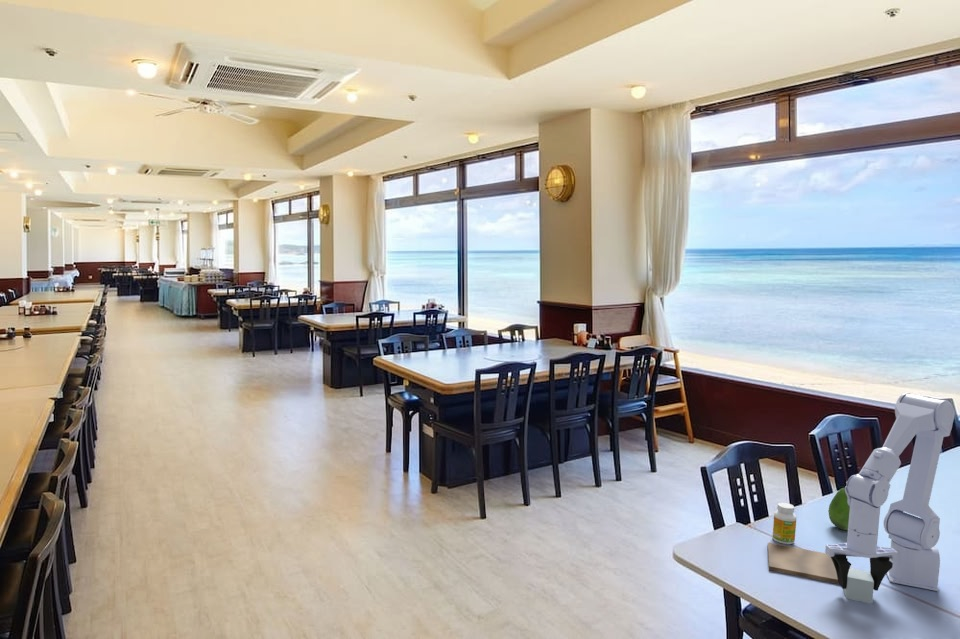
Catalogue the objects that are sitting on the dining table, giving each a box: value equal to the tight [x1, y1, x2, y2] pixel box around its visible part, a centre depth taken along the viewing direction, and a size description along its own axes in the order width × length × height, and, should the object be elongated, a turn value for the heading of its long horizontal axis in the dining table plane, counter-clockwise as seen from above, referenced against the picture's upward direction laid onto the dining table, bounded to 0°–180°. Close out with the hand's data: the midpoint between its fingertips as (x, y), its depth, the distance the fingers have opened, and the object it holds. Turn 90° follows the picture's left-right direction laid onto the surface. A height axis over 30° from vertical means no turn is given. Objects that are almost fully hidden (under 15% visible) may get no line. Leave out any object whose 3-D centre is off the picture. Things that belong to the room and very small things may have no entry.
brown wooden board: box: [767, 542, 839, 585], centre depth 155 cm, size 16×14×1 cm
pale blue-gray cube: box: [842, 567, 874, 605], centre depth 141 cm, size 5×5×5 cm
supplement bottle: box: [772, 502, 797, 545], centre depth 168 cm, size 5×5×10 cm
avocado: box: [828, 487, 850, 531], centre depth 177 cm, size 8×8×12 cm
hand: (857, 587), depth 141 cm, fingers closed on pale blue-gray cube, 6 cm apart
